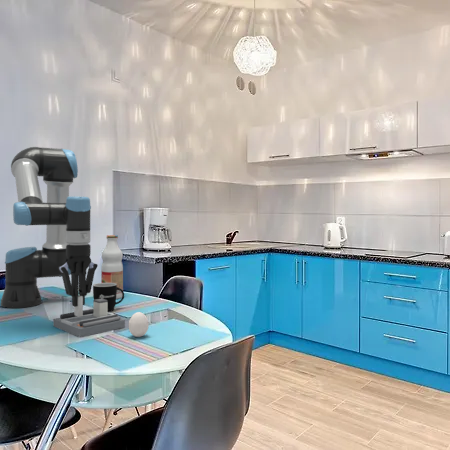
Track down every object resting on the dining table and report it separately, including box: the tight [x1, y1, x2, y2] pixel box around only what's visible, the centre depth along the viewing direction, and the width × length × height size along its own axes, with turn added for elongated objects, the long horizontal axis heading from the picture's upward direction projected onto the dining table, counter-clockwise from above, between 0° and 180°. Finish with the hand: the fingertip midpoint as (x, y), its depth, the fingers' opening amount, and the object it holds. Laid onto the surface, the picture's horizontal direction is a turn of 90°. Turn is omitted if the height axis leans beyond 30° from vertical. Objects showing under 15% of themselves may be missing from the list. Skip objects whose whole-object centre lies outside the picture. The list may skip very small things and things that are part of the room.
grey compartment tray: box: [52, 311, 126, 338], centre depth 142 cm, size 18×16×3 cm
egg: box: [128, 311, 150, 338], centre depth 131 cm, size 6×6×8 cm
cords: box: [59, 308, 122, 327], centre depth 142 cm, size 13×16×2 cm
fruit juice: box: [100, 234, 124, 300], centre depth 190 cm, size 9×9×28 cm
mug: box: [92, 282, 125, 313], centre depth 167 cm, size 12×9×10 cm
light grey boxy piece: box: [92, 299, 108, 317], centre depth 145 cm, size 4×3×6 cm
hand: (78, 315), depth 139 cm, fingers closed
